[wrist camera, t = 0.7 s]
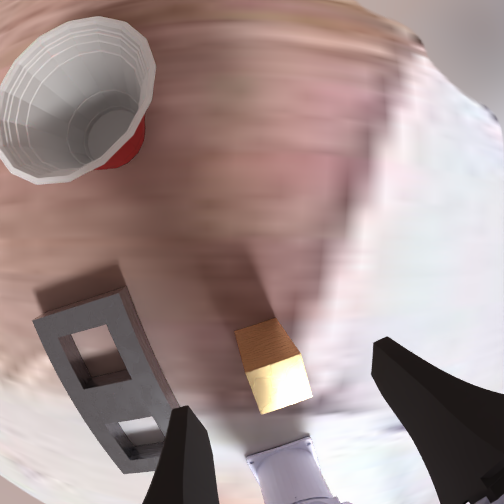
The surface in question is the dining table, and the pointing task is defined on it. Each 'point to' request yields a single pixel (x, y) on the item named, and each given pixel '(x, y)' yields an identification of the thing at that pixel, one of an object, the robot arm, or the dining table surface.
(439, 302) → the dining table surface
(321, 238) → the dining table surface
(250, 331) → the wooden peg
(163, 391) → the steel frame
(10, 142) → the plastic cup
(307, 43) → the dining table surface
